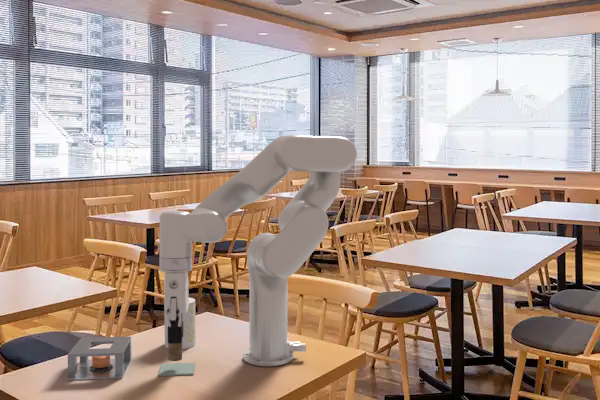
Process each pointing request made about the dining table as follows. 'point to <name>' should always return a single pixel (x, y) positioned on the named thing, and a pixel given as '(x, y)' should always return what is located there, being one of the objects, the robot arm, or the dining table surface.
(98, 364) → the breaker plunger
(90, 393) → the dining table surface
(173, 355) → the brown wooden rod
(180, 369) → the mat
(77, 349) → the guard cage
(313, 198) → the robot arm
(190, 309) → the cup
